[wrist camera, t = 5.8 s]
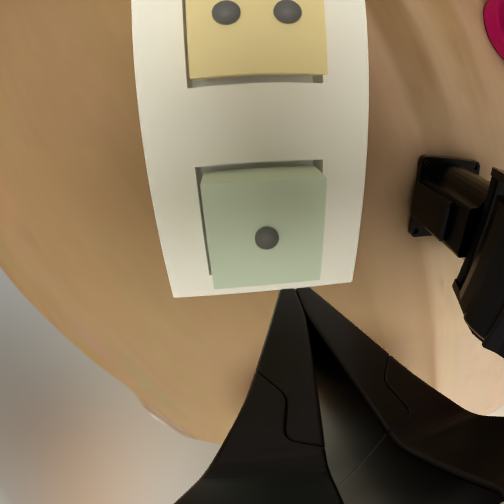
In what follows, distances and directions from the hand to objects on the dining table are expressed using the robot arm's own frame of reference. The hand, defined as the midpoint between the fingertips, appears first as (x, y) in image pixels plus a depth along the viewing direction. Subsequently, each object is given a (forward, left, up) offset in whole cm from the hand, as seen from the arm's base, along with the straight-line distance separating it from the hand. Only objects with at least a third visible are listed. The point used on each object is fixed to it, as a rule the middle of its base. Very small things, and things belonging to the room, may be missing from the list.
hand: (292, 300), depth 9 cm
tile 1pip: (0, +2, -9) cm, 9 cm away
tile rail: (0, -9, -12) cm, 15 cm away
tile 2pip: (0, -9, -9) cm, 13 cm away
